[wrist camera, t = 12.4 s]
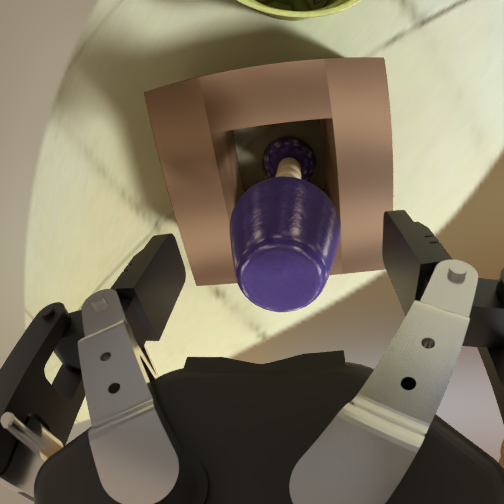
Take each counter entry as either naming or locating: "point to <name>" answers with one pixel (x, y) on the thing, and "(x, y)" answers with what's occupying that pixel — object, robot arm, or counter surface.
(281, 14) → the plant pot
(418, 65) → the counter surface
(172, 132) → the socket block
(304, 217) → the toy lamp
